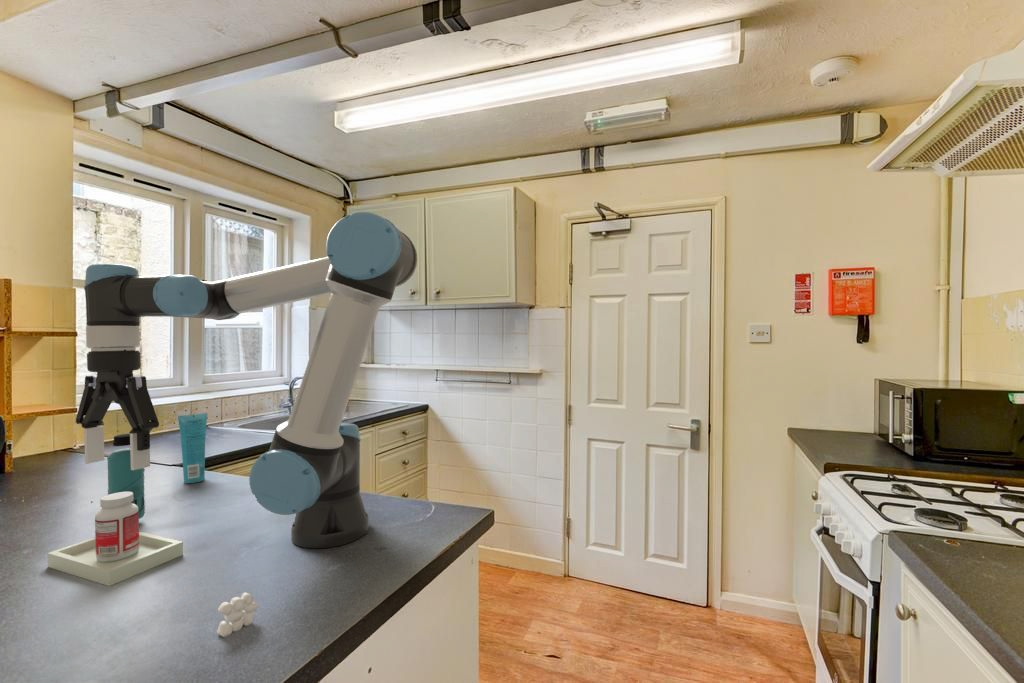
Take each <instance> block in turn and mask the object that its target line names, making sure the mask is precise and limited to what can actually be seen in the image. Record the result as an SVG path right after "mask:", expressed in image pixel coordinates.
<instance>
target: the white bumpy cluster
mask: <svg viewBox="0 0 1024 683" xmlns="http://www.w3.org/2000/svg"><path fill="white" fill-rule="evenodd" d="M258 609H259V604H258V603H257V602H254V595H252V594H251V593H249V592H243V593H242V594H241V596H240V597H239V596H235V597H233V598H231V599H230V602H228V601H224V602H221V604H220V605H219V607H218V608H217V611H218V612H219V613H221V614H223V615H224V616H223V617H224V619H225V620H222V621H219V625H218V628H217V630H216V633H217V634H218V635H219V636H221V637H223V638H226V637H229V636H230V635H232V633H233V632H235V633H236V632H238V631H240V630H242V628H243V626H250V625H252V623H253V622H254V612H256V611H258ZM227 621H228V622H227Z"/></svg>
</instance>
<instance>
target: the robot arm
mask: <svg viewBox="0 0 1024 683" xmlns="http://www.w3.org/2000/svg"><path fill="white" fill-rule="evenodd" d="M325 244H326V245H325V250H326V256H325V257H321V258H316V259H312V260H308V261H302V262H298V263H294V264H288V265H284V266H279V267H275V268H270V269H267V270H262V271H256V272H253V273H247V274H243V275H239V276H234V277H230V278H227V279H222V280H221V279H220V280H216V281H203V280H200V279H199V277H197V276H194V275H192V274H191V275H190V274H178V273H170V274H163V275H162V274H161V275H160V274H159V275H139V270H138V268H137V267H135V266H133V265H127V264H118V263H117V264H116V263H94V264H90V265H89V266H87V267H86V269H85V280H84V286H83V288H84V296H85V297H84V298H85V317H86V318H85V319H86V324H85V325H86V326H85V338H86V340H85V342H86V343H85V344H86V348H88V349H90V351H88V353H86V362H87V363H86V365H87V366H86V368H87V371H88V372H90V373H97V374H94V375H85V377H84V388H83V392H82V396H81V400H80V403H79V406H78V410H77V414H76V417H75V424H77V425H80V426H81V428H83V432H84V436H83V438H84V463H85V464H92V463H97V462H102V461H105V434H104V433H105V432H104V431H105V429H104V425H105V423H104V421H103V420H104V418H105V416H106V414H107V412H108V410H109V408H110V406H111V404H112V403H113V402H114V403H115V404H117V405H119V406H120V408H121V410H122V412H123V414H124V417H125V418H126V419H127V420H126V421H128V423H129V425H130V427H131V430H130V431H129V432H128V434H130V445H129V446H130V447H129V448H130V455H131V470H137V469H141V468H144V469H146V468H149V467H151V442H150V440H151V435H150V433H151V431H152V430H153V429H156V428H159V426H160V423H159V419H158V417H157V414H156V413H157V412H156V410H155V407H154V405H153V402H152V398H151V395H150V393H149V390H148V387H147V377H146V376H145V375H136V376H134V373H133V372H134V371H138V370H140V369H141V367H142V363H141V361H142V360H141V358H142V357H141V351H140V350H136V349H137V348H139V347H140V346H141V343H140V342H141V341H140V339H141V337H140V336H141V334H142V333H141V332H140V325H141V324H140V322H141V321H140V320H141V317H142V318H144V317H164V318H165V317H172V318H186V319H187V318H189V319H204V320H205V319H206V320H208V319H209V320H216V321H223V320H230V319H231V320H232V319H234V318H236V317H237V318H238V316H239V315H240V314H244V313H249V312H253V311H257V310H258V311H259V310H262V309H267V308H271V307H276V306H282V305H286V304H291V303H296V302H299V301H305V300H309V299H313V298H318V297H324V296H328V295H329V298H328V302H327V303H326V304H327V305H326V307H325V310H324V313H323V315H322V316H323V317H322V320H321V322H320V326H319V329H318V332H317V335H316V337H315V341H314V343H313V347H312V348H311V349H312V350H311V352H310V355H309V359H308V362H307V365H306V367H305V371H304V372H303V377H302V379H301V382H300V386H299V388H298V392H297V394H296V397H295V401H294V404H293V406H292V410H291V412H290V416H289V419H287V420H286V421H284V422H282V423H280V424H278V425H277V427H276V428H275V431H274V435H273V438H272V441H271V443H270V447H269V450H268V451H265V452H264V453H262V454H260V456H259V457H258V458H257V459H256V460H255V462H254V463H253V464H252V466H251V469H250V472H249V478H248V481H249V488H250V491H251V494H252V495H254V497H255V498H256V501H257V503H258V504H259V505H260V506H262V508H264V509H265V510H267V511H269V512H270V513H273V514H276V515H280V516H292V515H295V517H294V522H293V523H292V526H291V529H290V530H291V535H290V536H291V543H292V544H294V545H296V546H298V547H302V548H306V549H323V548H324V549H325V548H332V547H333V548H334V547H339V546H342V545H345V544H349V543H352V542H354V541H356V540H359V539H360V538H362V537H363V536H364V535H366V534H367V532H368V531H369V529H370V528H369V527H370V525H369V521H370V520H369V519H370V518H369V515H368V513H367V512H366V509H365V506H364V505H365V504H364V502H363V499H362V495H361V488H360V486H361V484H360V482H361V478H360V477H361V473H360V472H361V471H360V470H361V468H360V467H361V460H360V459H361V456H360V455H361V451H360V450H361V449H360V448H361V445H360V444H361V437H360V429H359V426H358V425H357V424H354V423H348V422H342V421H343V418H344V416H345V413H346V409H347V406H348V404H349V400H350V399H351V398H350V397H351V394H352V391H353V388H354V385H355V383H356V379H357V376H358V374H359V370H360V368H361V364H362V361H363V358H364V355H365V352H366V349H367V347H368V343H369V340H370V337H371V334H372V332H373V328H374V326H375V322H376V320H377V316H378V313H379V310H380V308H381V307H382V306H384V305H387V304H388V303H391V302H392V299H393V296H394V293H395V289H396V288H397V287H399V286H402V285H403V284H406V283H407V281H409V280H410V279H411V277H413V275H414V273H415V272H416V268H417V266H418V265H417V263H418V253H417V249H416V246H415V244H413V241H412V240H411V238H410V237H408V235H407V234H406V233H404V232H403V231H401V230H400V229H399V228H398V227H396V226H395V224H394V223H393V222H392V221H390V220H389V219H387V218H385V217H383V216H380V215H378V214H376V213H373V212H369V211H359V212H358V211H357V212H353V213H350V214H348V215H346V216H344V217H341V218H340V219H339V220H338V221H336V223H335V224H334V225H333V226H332V227H331V229H330V231H329V233H328V235H327V239H326V243H325Z"/></svg>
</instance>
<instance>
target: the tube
mask: <svg viewBox="0 0 1024 683" xmlns="http://www.w3.org/2000/svg"><path fill="white" fill-rule="evenodd" d="M177 419H178V420H177V421H178V427H179V434H180V445H181V455H182V457H181V458H182V459H181V460H182V470H183V483H185V484H193V483H194V484H196V483H199V482H202V481H204V480H205V477H206V476H205V474H206V467H205V463H206V437H207V436H206V434H207V433H206V432H207V419H208V412H202V413H196V414H195V413H194V414H186V415H178V416H177Z"/></svg>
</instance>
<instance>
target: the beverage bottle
mask: <svg viewBox="0 0 1024 683" xmlns="http://www.w3.org/2000/svg"><path fill="white" fill-rule="evenodd" d="M112 445H113V447H123V446H130V433H122V434H118V435H115V436H113V442H112ZM106 459H107V495H109V494H113V493H118V492H133V497H134V499H133V501H132V503H133V504H135V505H137V506H138V511H139V520H140V519H142V518H144V516H145V513H146V505H145V503H146V501H145V490H146V488H145V472H146V470H145V469H146V468H141V469H137V470H131V455H130V447H127V448H126V447H125V448H120V449H116V450H113V451H112V452H111V453H110V454H109V455H107V457H106Z"/></svg>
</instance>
